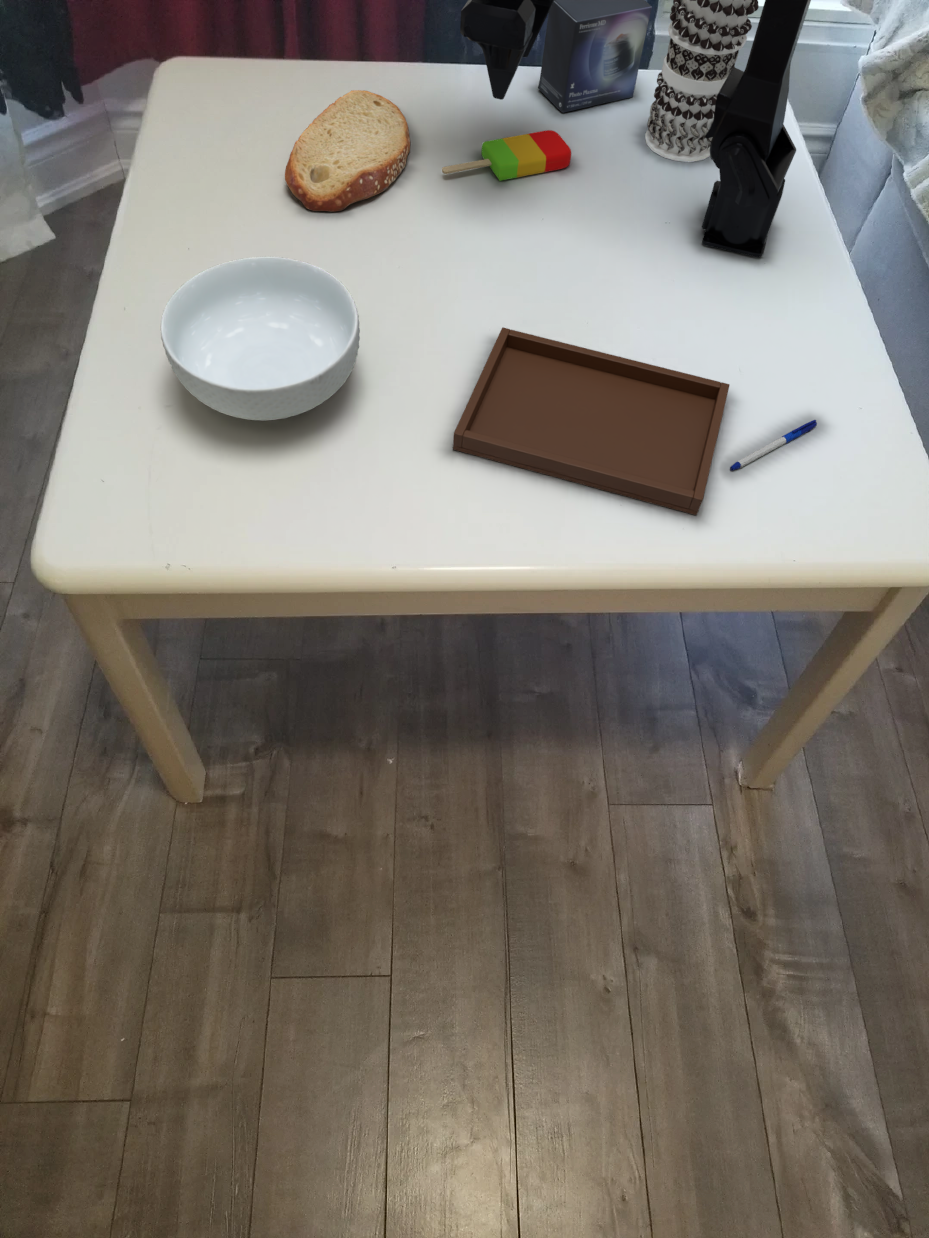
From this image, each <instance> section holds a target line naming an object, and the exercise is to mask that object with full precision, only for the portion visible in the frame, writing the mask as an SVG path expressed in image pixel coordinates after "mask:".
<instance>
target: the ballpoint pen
mask: <svg viewBox="0 0 929 1238" xmlns="http://www.w3.org/2000/svg"><path fill="white" fill-rule="evenodd" d="M817 425H818V423H817V420H816V419H813V420H811V421H809V422H806V423H803V424H801V426H799V427H797V428H795V429H793V430H791V431H789V432H788V433H785V434H784V435H782V436H781V437H780V438H778V439H776V440H774V441H772V442H769V443H768V444H767V445H765V446H762V447H761V448H759V449H756V450H755V451H754V452H752V453H750V454H748V455H746V456H744V457H742V458H740V459H739V460H737V461H735V462H734V463H733V464H732V465H731V466H730V467H729V469H730V471H736V470H738V469H741V468H743V467H745V466H747V465H749V464H750V463H753V461H756V460H758V459H759V458H761V457H764V456H765V455H767V454H768V453H771V452H772V451H774V450H775V449H777V448H779V447H782V446H783V445H785V444H788V443H790V442H792V441H794V440H796V439H798V438H799V437H801V436H802V435H805V434H806V433H808V432H810V431H811V430H813V429H814V428H816V427H817Z"/></svg>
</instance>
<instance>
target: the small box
mask: <svg viewBox="0 0 929 1238" xmlns="http://www.w3.org/2000/svg"><path fill="white" fill-rule="evenodd" d="M652 8H653V6H652V5H650V3H648V2H647V1H646V0H554V2H553V4H552V7H551V9H550V11H549V13H548V15H547V22H546V30H545V37H544V44H543V50H542V51H543V52H542V60H541V68H540V75H539V81H538V85H537V89H538V90H539V91H540V92H541V93H542V94H543V95H544V96H545V97H546V98H547V99H548V100H549V101H550V102H551V103H552V104H553V106H555V108H557V109H558V111H560V112H561V113H568V112H572V111H576V110H580V109H584V108H589V107H594V106H598V105H602V104H607V103H611V102H616V101H620V100H625V99H630V98H633V97H634V94H635V88H636V84H637V78H638V74H639V69H640V63H641V60H642V54H643V49H644V46H645V45H644V44H645V40H646V36H647V31H648V26H649V21H650V16H651V11H652Z"/></svg>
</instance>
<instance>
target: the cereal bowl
mask: <svg viewBox="0 0 929 1238" xmlns="http://www.w3.org/2000/svg"><path fill="white" fill-rule="evenodd" d="M359 317H360V315H359V313H358V307H357V305H356V302H355V300H354V297H353V295H352V294H351V292H350V291H349V290H348V288H347V287H346V286H345V285H344V283H343V282H342V281H340V280H339V278H337V277H336V276H334V275H333V274H331V273H330V272H328V271H327V270H325V269H323V268H322V267H319V266H318V265H314V264H312V263H309V262H306V261H302V260H299V259H295V258H289V257H283V256H251V257H250V256H249V257H244V258H238V259H234V260H230V261H225V262H223V263H219V264H216V265H213V266H211V267H208V268H206V269H204V270H202V271H200V272H198V273H197V274H195V275H194V276H192V277H191V278H189V279H188V280H186V281H185V282H184V283H183V284H181V285H180V286H179V288H177V289H176V290H175V291H174V293H172V295H171V296H170V298H169V299H168V301H167V303H166V304H165V307H164V309H163V310H162V316H161V319H160V339H161V341H162V347H163V349H164V351H165V355H166V357H167V360H168V363H169V365H170V366H171V369H172V371H173V373H174V374H175V377H176V378H177V379H178V381H179V382H180V383H181V385H182V386H183V387H184V388H185V389H186V390H187V391H188V392H189V394H191V395H192V396H193V397H194V398H196V399H197V400H198V401H199V402H201V403H202V404H204V405H205V406H208V407H209V408H210V409H212V410H214V411H217V412H218V413H220V414H223V415H226V416H231V417H233V418H237V419H242V420H248V421H250V420H252V421H264V422H265V421H272V420H273V421H276V420H281V419H287V418H291V417H295V416H298V415H300V414H304V413H306V412H308V411H310V410H313V409H314V408H316V407H318V406H320V405H322V404H323V403H324V402H325V401H327V400H328V399H330V398H331V397H332V396H333V395H335V394H336V393H337V391H338V390H339V389H341V388H342V386H343V385H344V384H345V383H346V382H347V380H348V378H349V377H350V375H351V373H352V371H353V369H354V368H355V367H354V366H355V363H356V362H357V357H358V354H359V349H360V339H361V337H360V333H361V329H360V319H359Z"/></svg>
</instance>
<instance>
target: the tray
mask: <svg viewBox="0 0 929 1238" xmlns="http://www.w3.org/2000/svg"><path fill="white" fill-rule="evenodd" d="M729 390H730V383H726V382H721V381H718V380H714V379H711V378H706V377H702V376H698V375H696V374H695V375H694V374H689V373H687V372H682V371H678V370H674V369H670V368H667V367H663V366H658V365H654V364H650V363H646V362H643V361H638V360H634V359H631V358H626V357H622V356H618V355H615V354H610V353H606V352H603V351H597V350H595V349H590V348H586V347H582V346H579V345H574V344H570V343H566V342H562V341H559V340H554V339H550V338H546V337H543V336H539V335H534V334H530V333H527V332H523V331H519V330H514V329H510V328H507V327H502V328H500V331H499V334H498V336H497V338H496V340H495V342H494V344H493V347H492V349H491V351H490V353H489V355H488V357H487V360H486V362H485V364H484V366H483V368H482V370H481V373H480V375H479V377H478V379H477V382H476V383H475V386H474V388H473V390H472V392H471V395H470V396H469V399H468V401H467V403H466V406H465V407H464V410H463V412H462V414H461V417H460V419H459V421H458V422H457V425H456V428H455V429H454V431H453V439H452V450H454V451H457V452H462V453H465V454H468V455H473V456H475V457H480V458H483V459H486V460H490V461H494V462H498V463H500V464H505V465H508V466H513V467H516V468H519V469H522V470H523V469H524V470H527V471H531V472H535V473H539V474H542V475H546V476H550V477H553V478H557V479H559V480H560V479H561V480H563V481H564V480H565V481H568V482H572V483H576V484H579V485H583V486H586V487H590V488H594V489H597V490H600V491H605V492H608V493H612V494H616V495H620V496H624V497H627V498H631V499H634V500H638V501H641V502H645V503H649V504H652V505H656V506H660V507H664V508H668V509H671V510H675V511H679V512H682V513H686V514H689V515H693V516H697V515H698V513H699V510H700V508H701V505H702V503H703V501H704V497H705V492H706V488H707V483H708V480H709V476H710V472H711V471H710V470H711V468H712V467H711V466H712V462H713V458H714V454H715V449H716V445H717V440H718V437H719V436H718V435H719V432H720V428H721V423H722V418H723V415H724V410H725V407H726V403H727V398H728V394H729Z"/></svg>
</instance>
